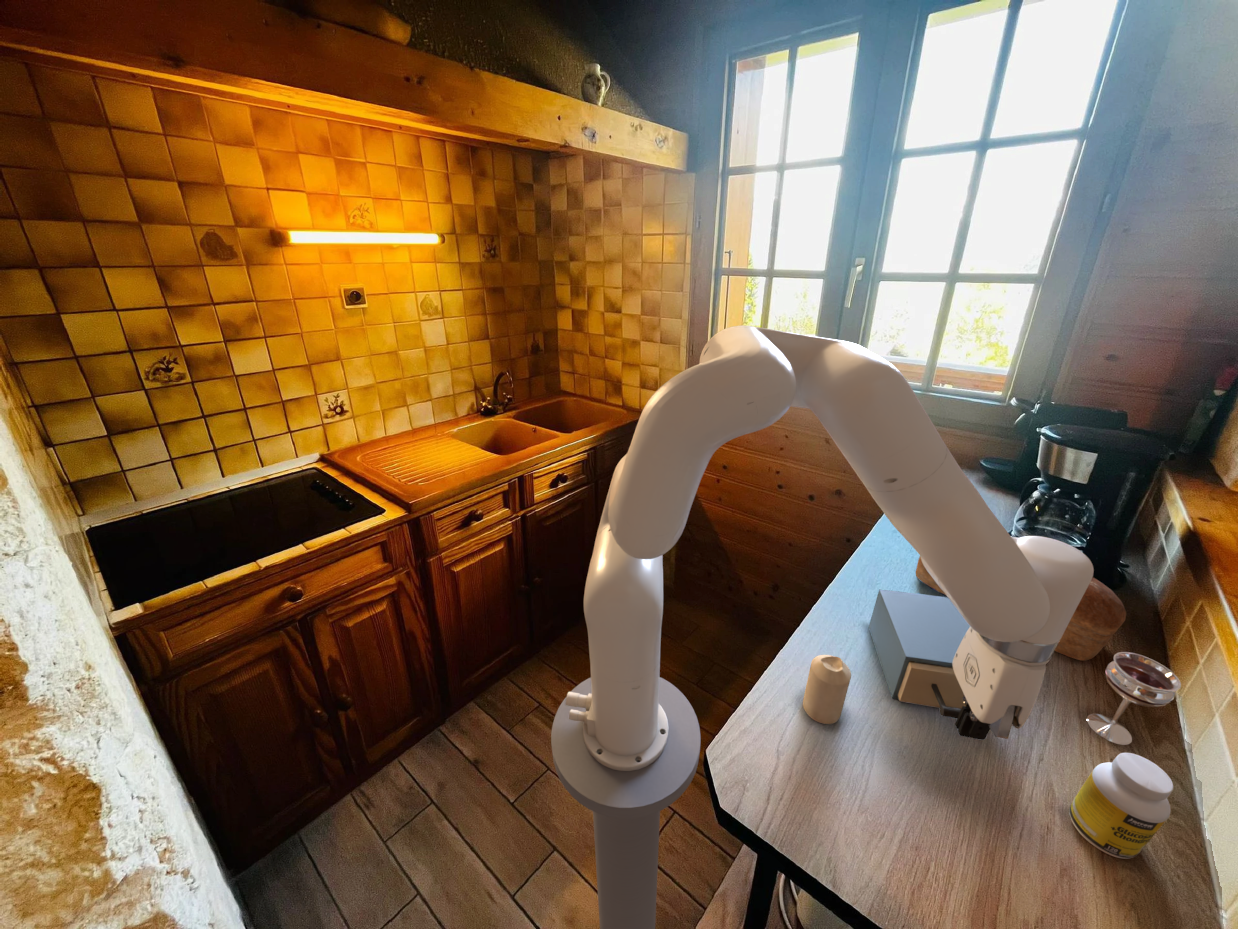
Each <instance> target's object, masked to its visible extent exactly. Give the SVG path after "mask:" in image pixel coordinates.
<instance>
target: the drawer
mask: <svg viewBox="0 0 1238 929" xmlns="http://www.w3.org/2000/svg"><path fill="white" fill-rule="evenodd" d="M963 696H964V693H963V691H962V689H961V687H960V684H959V682H958V680H957V678H956V675H955V673H954V670H953V668H948V667H941V666H935V665H928V664H921V663H914V661H910V662H909V663H908V666H907V669H906V672H905V675H904V678H903V681H902V684H901V687H900V690H899V693H898V698H899V699H898V700H899V702H902V703H908V704H912V705H919V706H926V707H933V708H938V711H939V714H940V716H941V717H946V718H952V719H957V718H958V715H959V713H960V711H961V709H962V706H966V705H964V703H963Z"/></svg>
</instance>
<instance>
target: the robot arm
mask: <svg viewBox="0 0 1238 929" xmlns="http://www.w3.org/2000/svg"><path fill="white" fill-rule="evenodd" d="M702 348H703V349H702V350H701V354H700V357H699V363H698V364H696V365H693V366H691V367H689V368H687V369H684V370H683V371H681V372H679V373H678V374H676V375H674V376H673V377H671V378H670V379H668V380H667V381H666V382H665V383H663V384H662V385H661V386H659V388H658V389H657V390H655V392H654V393H653V394H652V395H651V396H650V398H649V399H648V401H647V402H646V404H645V405H644V407H643V409H642V411H641V414H640V415H639V419H638V421H637V424H636V426H635V430H634V433H633V436H632V439H631V441H630V445H629V447H628V450H627V452H626V454H625V455H624V456H623V457H622V458H620V460H619V461H618V463H617V465H616V466H615V468H614V471H613V473H612V477H611V479H610V480H611V481H610V485H609V489H608V492H607V495H606V498H605V502H604V506H603V509H602V513H601V516H600V521H599V525H598V527H597V532H596V536H595V541H594V546H593V549H592V555H591V558H590V562H589V566H588V571H587V576H586V580H585V586H584V594H583V613H584V620H585V624H586V629H587V637H588V638H587V640H588V654H589V665H590V677H591V688H592V694H590V693H589V694H588V696H587V695H581V694H580V693H574V692H571V691H568V692H567V694H566V696H565V698H566V705H567V706H573V707H582V708H586V712H581V711H578V710H573V709H571V710H570V713H569V720H574V721H582V722H584V723H583V735H584V741H585V744H586V747H587V749H588V750H589V752H590V753H591V755H592V756H593V757H594V758H595V759H596V760H597V761H598V762H600V763H601V764H602V765H604V766H606V767H608V768H611V769H614V770H619V771H633V770H638V769H641V768H643V767H646V766H648V765H649V764H651V763H652V762H654V761H655V760H656V759H657V758H658V757H659V756H660V754H661V753H662V752H663V750H664V748H665V746H666V743H667V739H668V728H669V727H668V720H667V717H666V714H665V712H664V710H663V708H662V707H661V705H660V704H659V677H660V675H661V672H660V670H661V641H662V639H661V638H662V626H663V615H664V566H663V565H664V562H663V561H664V559H663V558H664V556H663V555H665V554H666V553H668V552H669V551H670V550H671V549H673V547H674V546H675V545H676V544H677V542H678V541H679V539H680V538H681V536H682V535H683V532H684V530H685V527H686V524H687V522H688V518H689V515H690V511H691V508H692V505H693V502H694V501H695V497H696V494H697V492H698V488H699V486H700V483H701V480H702V478H703V476H704V474H705V471H706V469H707V467H708V465H709V462H710V460H711V459H712V457H713V456H714V454H715V452H717V451H718V449H719V448H721V447H722V446H723V445H724V444H727V443H728V442H730V441H731V440H732V441H733V440H734V439H736V438H739V437H742V436H745V435H748V434H752V433H755V432H759V431H762V430H764V429H766V428H768V427H770V426H772V425H774V424H775V423H777V422H778V421H779V420H781V418H783V416H784V415H785V414H786V413H787V412H788V411H789V409H790V407H792V408H801V409H809V410H810V411H811V412H812V413H813V414H814V416H815V418H817V419H818V421H819V422H820V424H821V425H822V427H823V428H824V430H825V431H826V433H827V434H828V435H829V437H830V438H831V440H832V441H833V442H834V444H835V446H836V447H837V448H838V450H839V451H840V452H841V454H842V456H843V457H844V458H845V460H846V461H847V463H848V464H849V465H850V467H851V468H852V470H853V471H854V473H855V474H856V475H857V477H858V479H859V480H860V482H861V483H862V484H863V486H864V487H865V489H866V490H867V492H868V493H869V495H870V496H871V498H872V499H873V501H874V502H875V503H876V505H877V506H878V507H879V509H880V510H881V511H882V513H883V514H884V516H885V517H886V518H887V519H888V521H889V522H890V524H891V525H892V526H893V527H894V528H895V529H896V530H897V531H898V533H899V534H900V535H901V536H902V537H903V539H905V540H906V541H907V542H908V543H909V545H910V546H911V547H912V548H913V549H914V550H915V551H916V552H917V554H918V555H919V557H920V556H921V560H922V563H923V565H924V567H925V568H926V570H927V571H928V573H929V574H930V575H931V576H932V578H933V579H934V580H935V582H936V583H937V584H938V586H939V587H940V588H941V590H942V591H943V592H944V593H945V594H946V595H947V596H946V595H945V596H946V597H948V598H949V599H950V601H951V602H952V603H953V604H954V606H955V607H956V608H957V610H958V611H959V612H960V614H961V615H962V616H963V618H964V619H965V620H966V622H967V623H968V624H969V625H970V627H969V629H968V631H967V632H966V634H965V636H964V638H963V639H962V641H961V643H960V645H959V647H958V649H957V652H956V654H955V656H954V659H953V662H952V666H953V670H954V673H955V675H956V678H957V680H958V682H959V684H960V687H961V689H962V691H963V693H964V696H963V703H964V705H966V706H962V709H961V711H960V713H959V715H958V718H956V720H955V723H954V726H955V728H956V730H957V733H958V735H959V736H960V737H964V738H969V739H974V740H979V741H984V740H986V739H987V737H988V735H989V733H990V732H991V733H992V734H993V736H994V737H995V738H1000V739H1004V740H1008V739H1009V737H1010V734H1011V729H1012V727H1014V728H1015V729H1017V730H1019V729H1021V728H1022V727H1023V726H1024V725H1025V723H1026V722H1027V720H1028V719H1029V717H1030V715H1031V713H1032V711H1033V709H1034V708H1035V705H1036V702H1037V701H1038V700H1037V699H1038V697H1039V694H1040V692H1041V688H1042V685H1043V682H1044V678H1045V673H1046V669H1047V667H1046V664H1048V663H1049V662H1050V661H1051V658H1052V657H1053V655H1054V653H1055V652H1056V651H1055V649H1056V647H1057V645H1058V643H1059V641H1060V639H1061V637H1062V635H1063V634H1064V632H1065V630H1066V628H1067V626H1068V624H1069V622H1070V620H1071V618H1072V616H1073V614H1074V612H1075V610H1076V608H1077V606H1078V605H1079V603H1080V601H1081V599H1082V597H1083V595H1084V593H1085V591H1086V589H1087V587H1088V585H1089V584H1090V582H1091V579H1092V577H1093V578H1094V571H1095V569H1094V565H1093V563H1092V561H1091V559H1090V558H1089V557H1088V556H1087V555H1086V554H1085V553H1084V552H1082V550H1080V549H1078V548H1077V547H1075V546H1072V545H1071V544H1068V543H1066V542H1064V541H1060V540H1058V539H1055V538H1051V537H1048V536H1042V535H1027V536H1025V535H1024V536H1020V537H1016V536H1011V535H1010V533H1009V532H1008V530H1007V529H1006V527H1004V525H1003V524H1002V523H1001V522H1000V520H999V519H998V518H997V516H996V515H995V513H994V512H993V510H992V509H991V508H990V507H989V505H988V504H987V502H986V500H985V499H984V498H983V496H982V495H981V493H980V492H979V491H978V489H977V488H976V487H975V485H974V484H973V482H972V481H971V480H970V479H969V477H968V476H967V475H966V473H965V472H964V471H963V470H962V468H961V467H960V465H959V464H958V462H957V460H956V459H955V457H954V456H953V454H952V452H951V451H950V449H949V448H948V446H947V444H946V443H945V442H944V440H943V438H942V436H941V434H940V433H939V431H938V430H937V428H936V426H935V424H934V423H933V421H932V420H931V418H930V416H929V414H928V413H927V411H926V410H925V407H924V405H923V404H922V402H921V401H920V400H919V398H918V396H917V394H916V393H915V391H914V390H913V388H912V386H911V385H910V383H909V381H908V380H907V378H905V376H904V375H903V373H902V372H901V371H900V370H899V369H898V368H897V367H896V366H895V365H894V364H892V363H891V362H890V361H888V360H886V358H883V357H882V356H880V355H878V354H876V353H874V352H872V351H870V350H869V349H867V348H866V347H863V346H862V345H860V344H857V343H854V342H851V341H846V340H841V339H834V338H828V337H820V336H814V335H807V334H802V333H795V332H789V331H783V330H777V329H772V328H766V327H760V326H753V325H743V324H742V325H734V326H729V327H726V328H723V329H722V330H720V331H718V332H716V333H715V334H714V335H712V336H711V338H709V340H708V341H707V342H706V343H705V344H704V347H702Z"/></svg>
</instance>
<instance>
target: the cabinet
mask: <svg viewBox="0 0 1238 929" xmlns="http://www.w3.org/2000/svg"><path fill="white" fill-rule="evenodd" d="M969 627H970V625H969V624H968V623H967V622H966V620H965V619H964V618H963V616H962V615H961V614H960V612H959V611H958V610H957V608H956V607H955V606H954V604H953V603H952V602H951V601H950V599H949V598H948V597H947V596H940V595H931V594H923V593H914V592H906V591H897V590H891V589H890V590H889V589H878V592H877V595H876V599H875V603H874V606H873V610H872V614H871V617H870V621H869V625H868V630H869V633H870V637H871V639H872V642H873V645H874V648H875V651H876V654H877V657H878V660H879V663H880V667H881V670H882V672H883V675H884V678H885V681H886V684H887V687H888V690H889V693H890V696H891V698H892V699H895V700H899V698H898V693H899V690H900V687H901V684H902V681H903V678H904V675H905V672H906V669H907V666H908V663H909V662H910V661H914V662H921V663H928V664H935V665H941V666H948V667H953V666H952V662H953V659H954V656H955V654H956V652H957V649H958V647H959V645H960V643H961V641H962V639H963V638H964V636H965V634H966V632H967V631H968V629H969Z"/></svg>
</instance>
